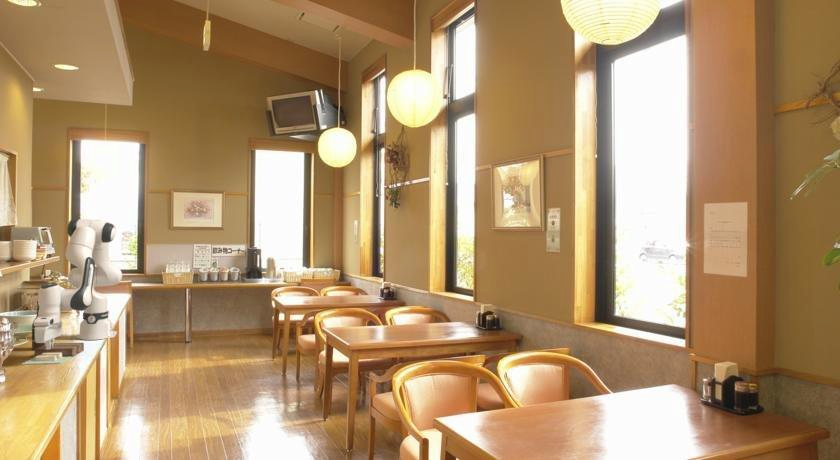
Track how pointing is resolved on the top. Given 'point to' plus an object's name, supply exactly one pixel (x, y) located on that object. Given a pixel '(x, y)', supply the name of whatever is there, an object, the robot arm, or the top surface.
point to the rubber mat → (58, 361)
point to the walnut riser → (62, 349)
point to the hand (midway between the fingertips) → (49, 349)
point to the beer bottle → (34, 344)
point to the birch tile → (48, 356)
